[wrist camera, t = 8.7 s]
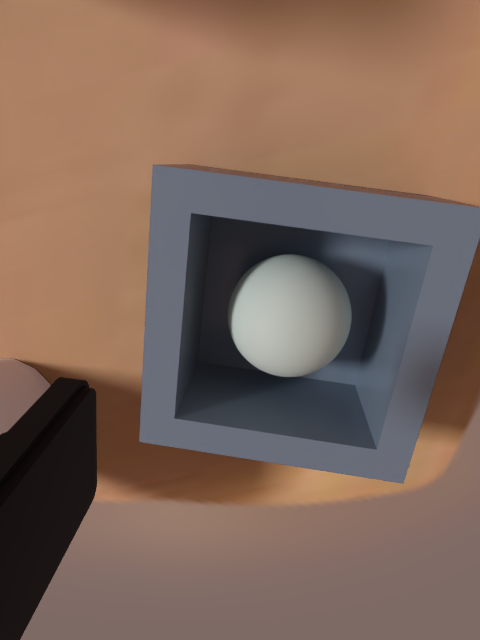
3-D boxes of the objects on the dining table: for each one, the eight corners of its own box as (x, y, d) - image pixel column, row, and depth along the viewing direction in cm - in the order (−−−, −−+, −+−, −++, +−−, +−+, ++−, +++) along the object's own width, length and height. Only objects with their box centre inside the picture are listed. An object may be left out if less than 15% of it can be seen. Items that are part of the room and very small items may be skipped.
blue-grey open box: (189, 164, 23) (152, 164, 17) (428, 195, 23) (489, 208, 16) (172, 375, 28) (139, 441, 21) (373, 405, 27) (403, 483, 20)
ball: (241, 236, 23) (228, 260, 18) (353, 252, 23) (375, 281, 18) (228, 339, 26) (213, 389, 20) (331, 354, 25) (345, 409, 20)
